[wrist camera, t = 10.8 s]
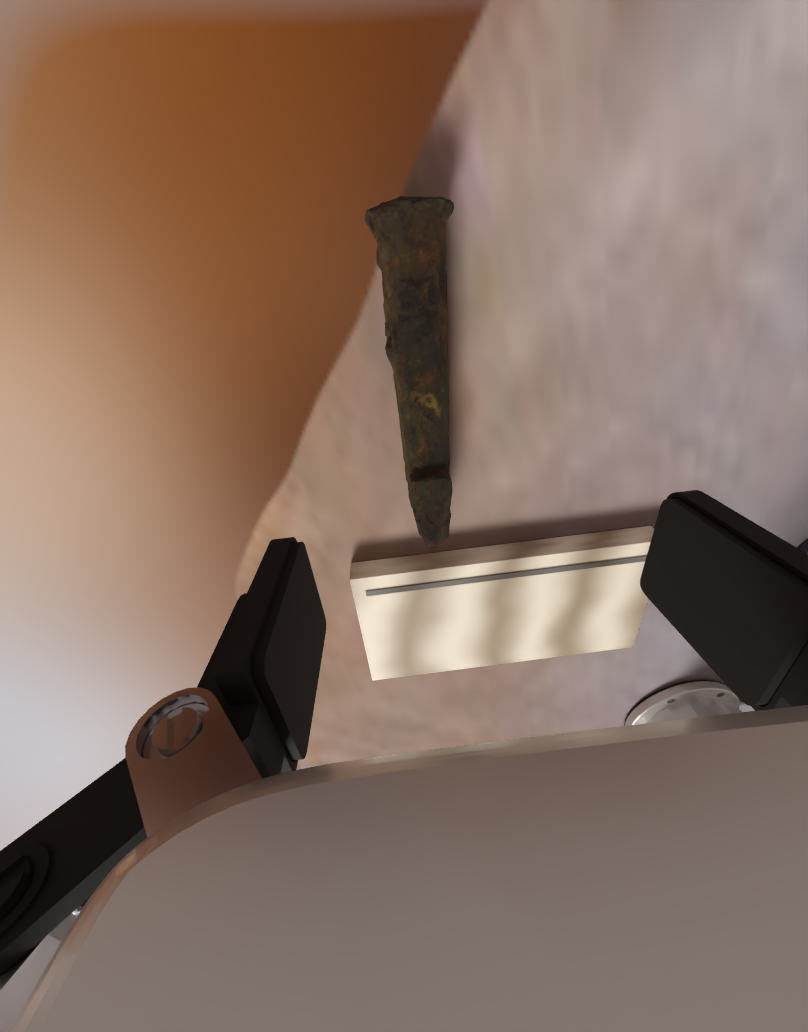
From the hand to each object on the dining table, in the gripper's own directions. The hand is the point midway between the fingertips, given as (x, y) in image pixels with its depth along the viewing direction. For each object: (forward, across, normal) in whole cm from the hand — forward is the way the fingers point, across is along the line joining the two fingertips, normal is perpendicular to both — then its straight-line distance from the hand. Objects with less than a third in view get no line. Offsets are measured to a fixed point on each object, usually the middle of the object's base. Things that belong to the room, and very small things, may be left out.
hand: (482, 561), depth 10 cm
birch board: (+16, -6, +17) cm, 24 cm away
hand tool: (+16, 0, -1) cm, 16 cm away
